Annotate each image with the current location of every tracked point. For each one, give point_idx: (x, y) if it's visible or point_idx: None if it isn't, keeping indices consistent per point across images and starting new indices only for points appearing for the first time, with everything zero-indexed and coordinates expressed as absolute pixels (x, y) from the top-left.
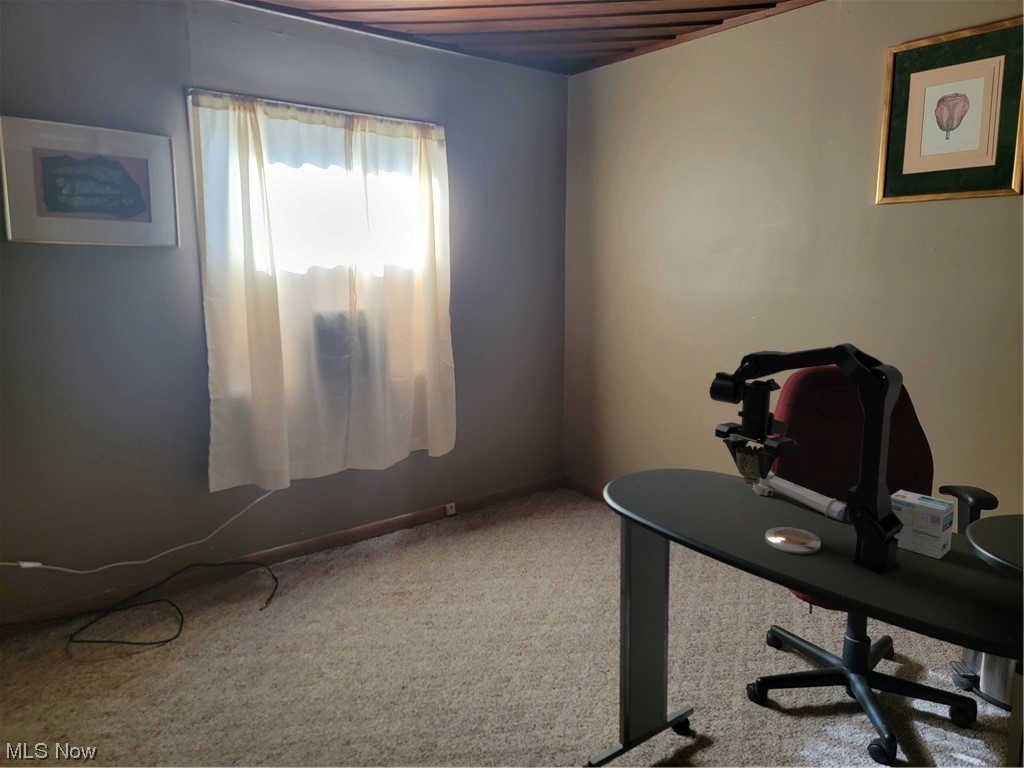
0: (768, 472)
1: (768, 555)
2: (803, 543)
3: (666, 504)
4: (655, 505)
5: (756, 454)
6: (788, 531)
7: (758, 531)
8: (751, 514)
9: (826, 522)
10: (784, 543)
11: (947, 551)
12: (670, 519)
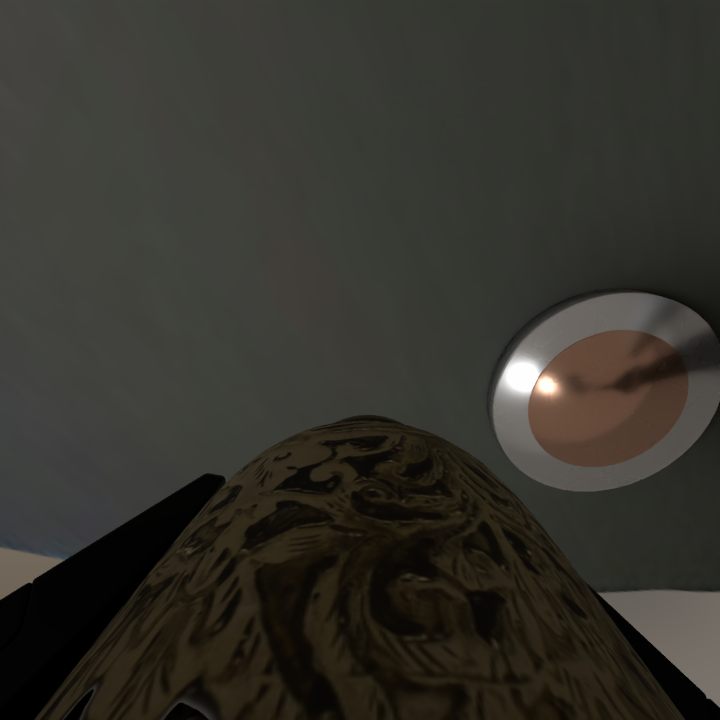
0: None
1: (557, 528)
2: (662, 427)
3: (33, 425)
4: (25, 462)
5: (257, 561)
6: (572, 365)
7: (442, 392)
8: (319, 245)
9: (673, 5)
10: (596, 471)
11: None
12: None
